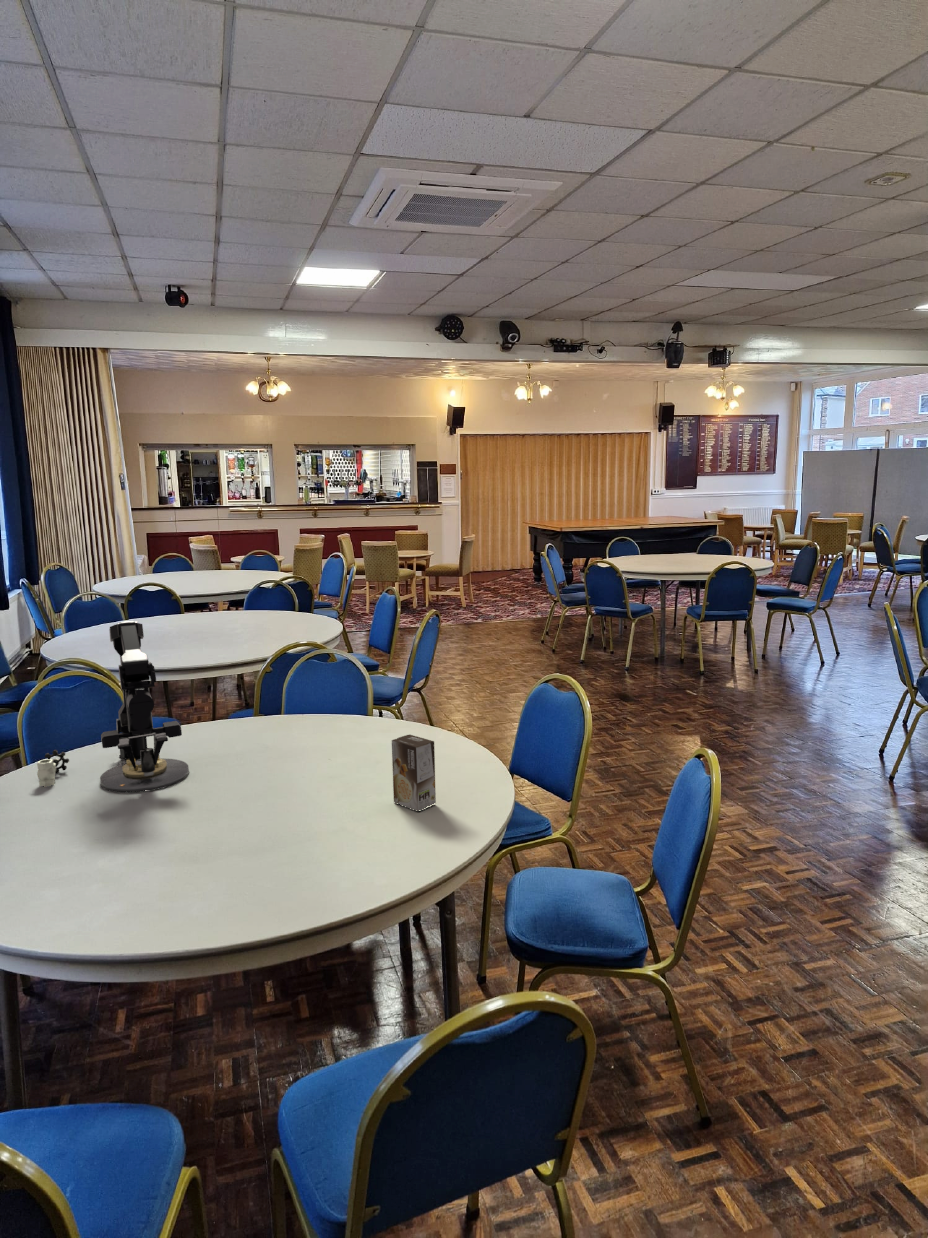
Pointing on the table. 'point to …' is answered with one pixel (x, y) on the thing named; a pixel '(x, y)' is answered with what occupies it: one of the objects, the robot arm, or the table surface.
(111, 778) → the base plate
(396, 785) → the coffee box
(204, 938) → the table surface
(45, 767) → the valve
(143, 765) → the cheese board
